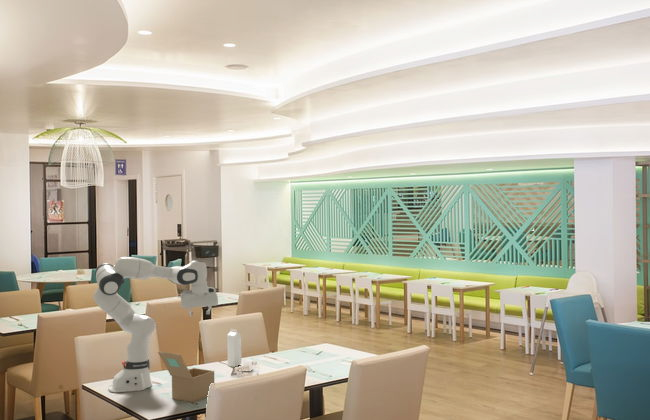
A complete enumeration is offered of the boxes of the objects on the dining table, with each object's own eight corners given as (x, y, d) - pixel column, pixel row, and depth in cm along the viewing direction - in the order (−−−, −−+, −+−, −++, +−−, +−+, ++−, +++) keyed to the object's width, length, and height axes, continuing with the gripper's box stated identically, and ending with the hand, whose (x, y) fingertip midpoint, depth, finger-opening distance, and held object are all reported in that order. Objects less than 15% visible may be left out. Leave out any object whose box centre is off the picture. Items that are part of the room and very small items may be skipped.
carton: (193, 402, 319) (192, 378, 319) (172, 398, 327) (171, 374, 327) (214, 394, 333) (214, 370, 333) (194, 390, 340) (193, 367, 340)
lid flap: (192, 378, 319) (191, 379, 319) (171, 374, 327) (170, 375, 326) (180, 354, 312) (179, 355, 311) (158, 351, 319) (157, 352, 319)
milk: (234, 364, 398) (234, 328, 398) (241, 365, 394) (241, 329, 395) (227, 366, 393) (226, 329, 393) (234, 367, 390) (234, 330, 390)
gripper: (181, 291, 349) (182, 317, 349) (218, 289, 358) (219, 314, 358) (179, 290, 355) (179, 315, 355) (215, 287, 364) (215, 312, 364)
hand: (199, 314), depth 357 cm, fingers open, 8 cm apart
